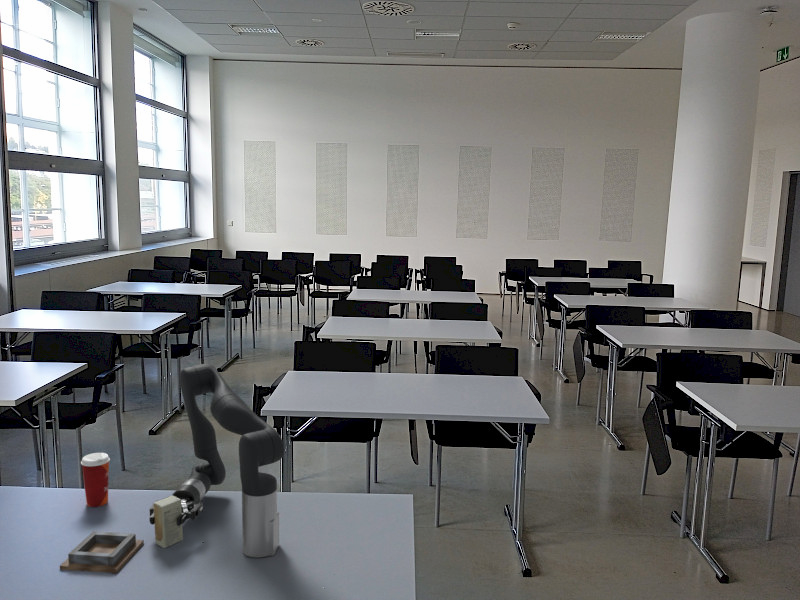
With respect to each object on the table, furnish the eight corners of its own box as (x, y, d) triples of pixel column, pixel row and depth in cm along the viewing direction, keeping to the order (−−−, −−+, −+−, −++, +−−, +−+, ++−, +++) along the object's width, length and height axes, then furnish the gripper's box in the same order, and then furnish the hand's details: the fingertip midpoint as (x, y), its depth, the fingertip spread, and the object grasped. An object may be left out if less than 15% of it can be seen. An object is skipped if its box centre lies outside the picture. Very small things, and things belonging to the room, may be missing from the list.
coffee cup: (116, 502, 208) (114, 456, 206) (89, 511, 202) (87, 464, 200) (104, 494, 213) (102, 449, 211) (78, 502, 207) (75, 456, 205)
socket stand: (143, 543, 184) (143, 531, 183) (116, 573, 169) (116, 560, 168) (91, 540, 185) (90, 528, 184) (59, 569, 170) (59, 556, 169)
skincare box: (174, 535, 188) (173, 494, 187) (183, 540, 186) (182, 498, 184) (154, 543, 183) (152, 501, 182) (162, 549, 181) (161, 506, 179)
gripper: (164, 482, 198) (138, 507, 181) (211, 485, 197) (190, 510, 180) (165, 506, 199) (139, 533, 182) (212, 509, 198) (190, 536, 181)
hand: (164, 521), depth 181 cm, fingers closed on skincare box, 7 cm apart
